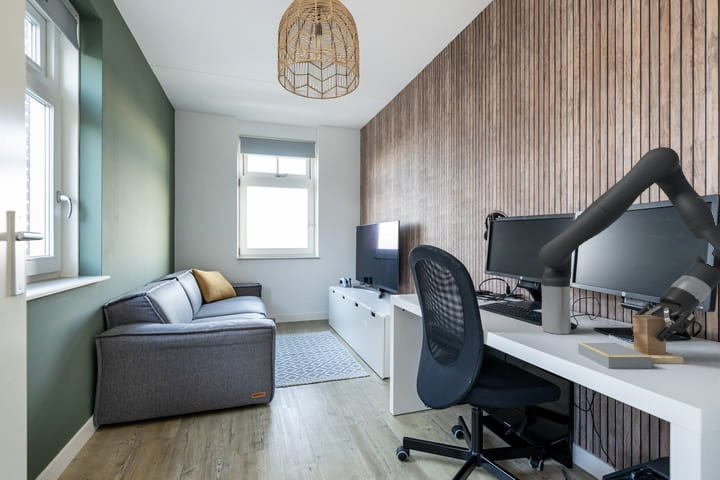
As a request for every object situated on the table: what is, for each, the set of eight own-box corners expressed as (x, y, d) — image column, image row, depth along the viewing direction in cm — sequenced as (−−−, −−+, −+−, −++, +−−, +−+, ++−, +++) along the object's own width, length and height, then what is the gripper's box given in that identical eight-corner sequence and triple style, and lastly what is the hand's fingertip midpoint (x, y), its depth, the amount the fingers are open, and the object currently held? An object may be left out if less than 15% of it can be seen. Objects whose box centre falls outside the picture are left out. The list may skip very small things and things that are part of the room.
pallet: (619, 352, 103) (619, 347, 103) (652, 352, 102) (652, 346, 102) (646, 363, 93) (646, 357, 93) (683, 363, 92) (683, 357, 92)
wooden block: (633, 349, 100) (632, 315, 100) (651, 349, 100) (650, 314, 100) (647, 355, 95) (646, 318, 95) (666, 355, 95) (665, 318, 95)
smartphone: (641, 347, 106) (607, 334, 121) (641, 351, 106) (607, 336, 121) (665, 347, 106) (627, 333, 121) (665, 350, 106) (627, 336, 121)
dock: (578, 352, 102) (578, 342, 102) (615, 352, 102) (615, 342, 102) (608, 368, 89) (608, 356, 89) (651, 368, 89) (651, 356, 89)
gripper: (654, 283, 105) (617, 320, 105) (699, 288, 91) (656, 332, 91) (672, 300, 105) (635, 337, 105) (720, 308, 90) (677, 352, 90)
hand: (645, 335), depth 98 cm, fingers open, 8 cm apart
